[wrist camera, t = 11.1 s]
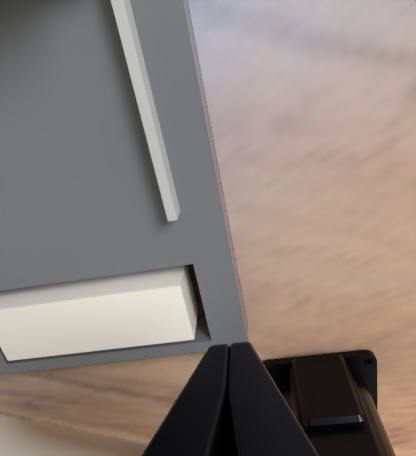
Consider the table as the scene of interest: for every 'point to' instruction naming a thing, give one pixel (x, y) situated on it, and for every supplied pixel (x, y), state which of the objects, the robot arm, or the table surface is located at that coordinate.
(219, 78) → the table surface
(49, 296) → the button white
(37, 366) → the panel
